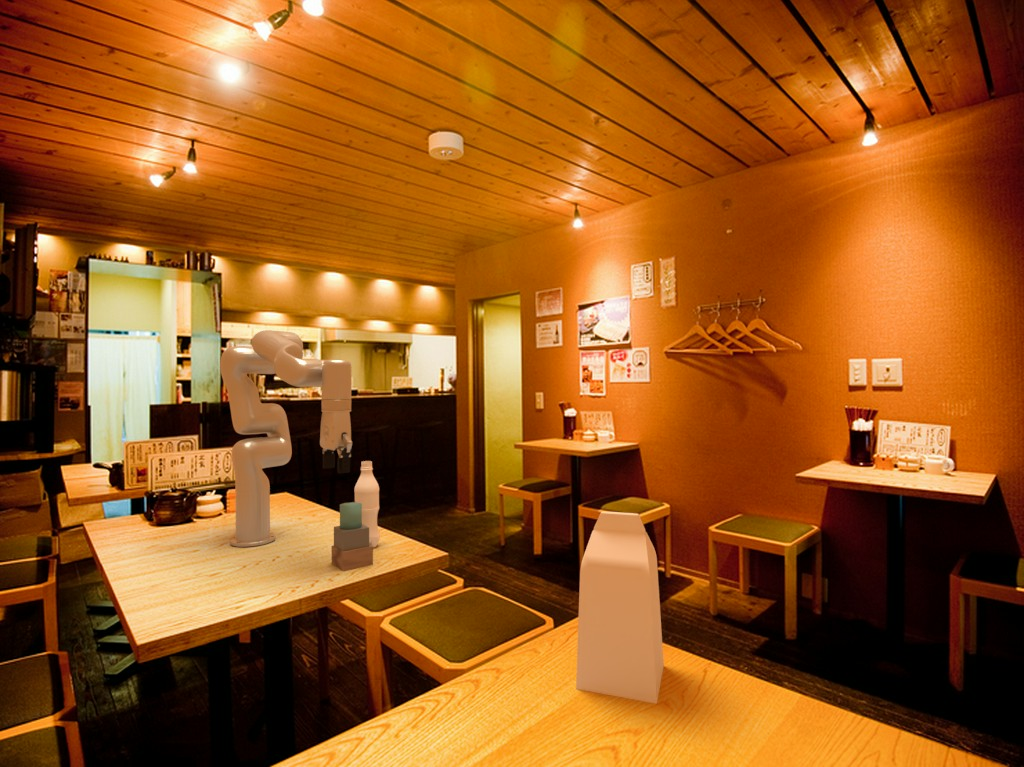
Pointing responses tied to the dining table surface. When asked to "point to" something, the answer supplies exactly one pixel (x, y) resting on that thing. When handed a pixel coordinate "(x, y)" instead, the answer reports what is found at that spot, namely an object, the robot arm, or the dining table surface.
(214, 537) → the dining table surface
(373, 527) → the water bottle
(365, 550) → the tower base
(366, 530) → the tower mid
